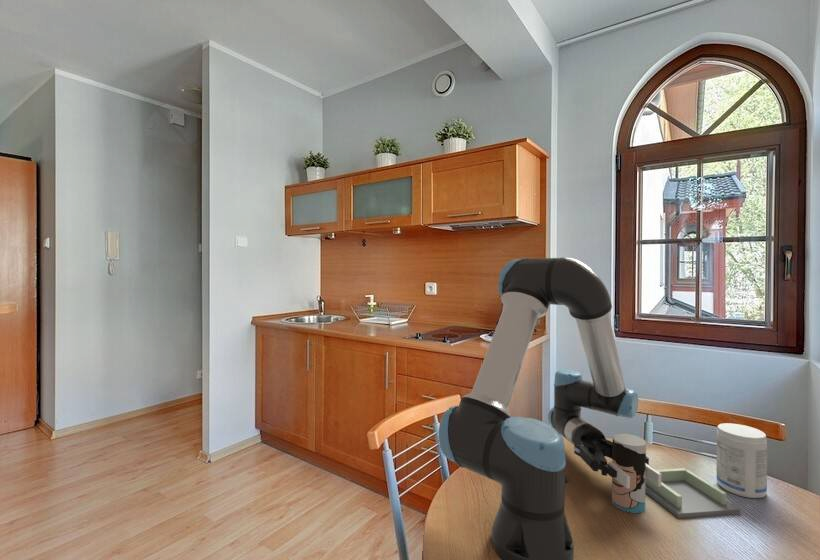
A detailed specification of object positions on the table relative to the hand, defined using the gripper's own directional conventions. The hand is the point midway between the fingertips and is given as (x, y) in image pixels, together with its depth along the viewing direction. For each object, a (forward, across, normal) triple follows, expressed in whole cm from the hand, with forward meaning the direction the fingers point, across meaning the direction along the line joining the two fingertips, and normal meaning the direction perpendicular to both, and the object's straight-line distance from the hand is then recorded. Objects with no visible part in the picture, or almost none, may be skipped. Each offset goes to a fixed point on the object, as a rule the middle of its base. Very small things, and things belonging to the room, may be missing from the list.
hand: (644, 481), depth 85 cm
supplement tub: (-8, -32, -8) cm, 34 cm away
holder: (-7, -15, -8) cm, 18 cm away
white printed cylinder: (-5, 0, -8) cm, 10 cm away
